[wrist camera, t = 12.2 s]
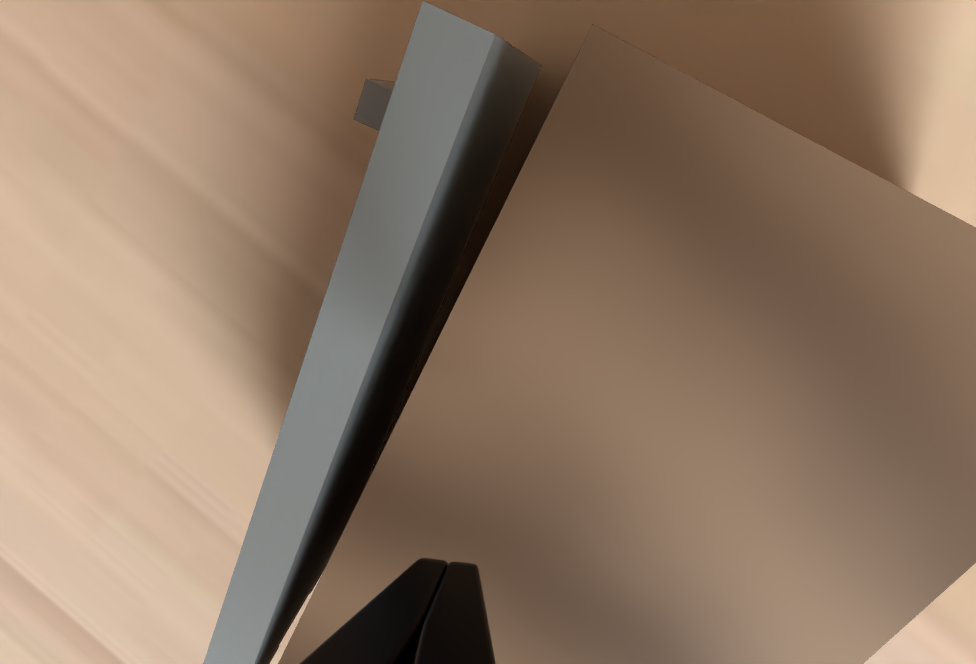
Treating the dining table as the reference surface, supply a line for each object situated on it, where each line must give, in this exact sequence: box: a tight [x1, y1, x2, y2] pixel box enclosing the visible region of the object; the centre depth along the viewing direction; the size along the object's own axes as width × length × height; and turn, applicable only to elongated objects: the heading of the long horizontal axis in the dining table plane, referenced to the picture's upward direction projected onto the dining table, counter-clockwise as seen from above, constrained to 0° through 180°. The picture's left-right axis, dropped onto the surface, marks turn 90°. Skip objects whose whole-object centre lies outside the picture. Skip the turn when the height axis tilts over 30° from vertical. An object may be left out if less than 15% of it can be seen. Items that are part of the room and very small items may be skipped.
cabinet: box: [278, 25, 976, 664], centre depth 17 cm, size 20×10×9 cm, turn 154°
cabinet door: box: [203, 1, 542, 664], centre depth 16 cm, size 19×2×8 cm, turn 157°
